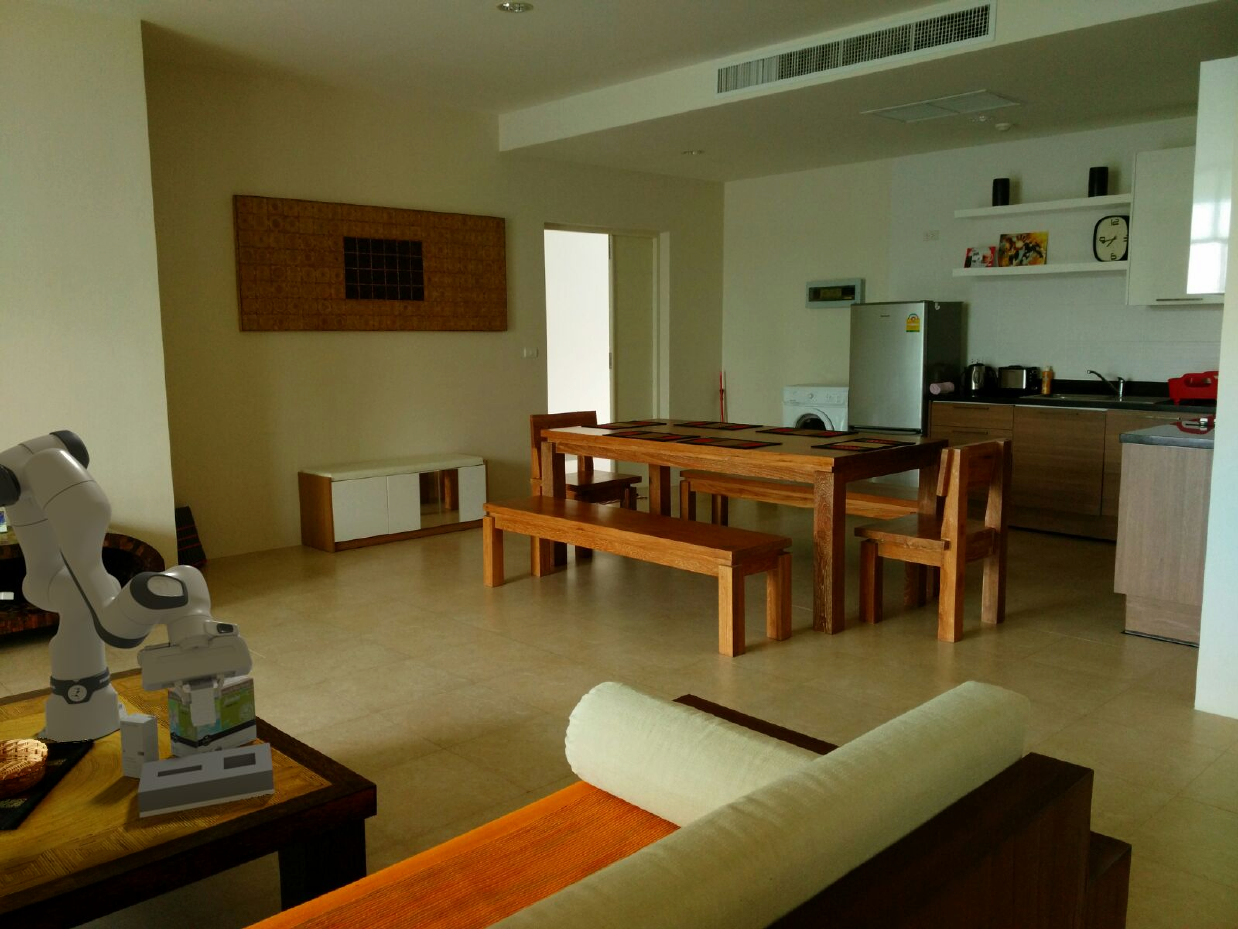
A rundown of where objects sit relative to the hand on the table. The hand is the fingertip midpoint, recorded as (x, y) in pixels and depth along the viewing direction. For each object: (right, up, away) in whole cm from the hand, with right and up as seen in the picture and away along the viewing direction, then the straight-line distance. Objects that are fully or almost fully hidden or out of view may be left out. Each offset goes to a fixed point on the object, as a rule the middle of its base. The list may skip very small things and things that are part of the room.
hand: (202, 700), depth 191 cm
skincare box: (-18, -18, +13) cm, 29 cm away
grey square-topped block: (0, -4, +1) cm, 4 cm away
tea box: (-8, -17, +25) cm, 31 cm away
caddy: (-1, -19, +5) cm, 20 cm away
